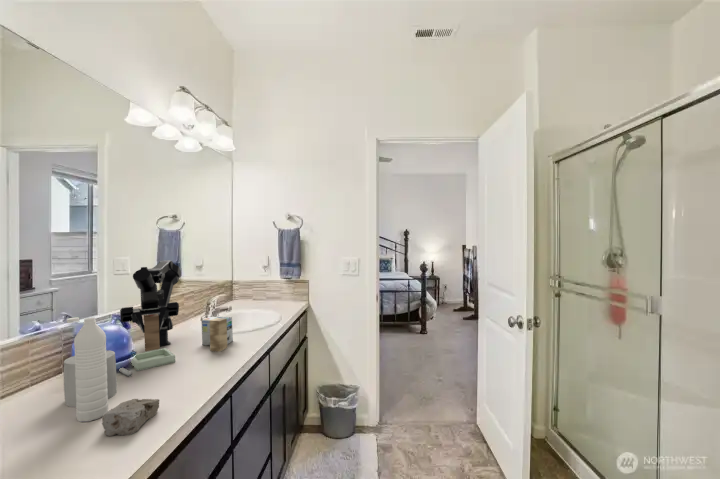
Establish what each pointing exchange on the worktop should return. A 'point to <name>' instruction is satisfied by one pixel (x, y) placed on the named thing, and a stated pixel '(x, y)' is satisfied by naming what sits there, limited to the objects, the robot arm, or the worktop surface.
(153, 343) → the walnut block
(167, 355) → the tray
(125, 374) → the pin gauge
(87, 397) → the water bottle
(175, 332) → the worktop surface
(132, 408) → the stone
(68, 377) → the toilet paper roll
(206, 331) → the light bulb box
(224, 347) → the oak block
